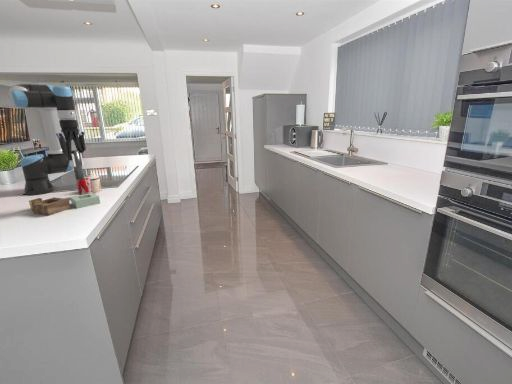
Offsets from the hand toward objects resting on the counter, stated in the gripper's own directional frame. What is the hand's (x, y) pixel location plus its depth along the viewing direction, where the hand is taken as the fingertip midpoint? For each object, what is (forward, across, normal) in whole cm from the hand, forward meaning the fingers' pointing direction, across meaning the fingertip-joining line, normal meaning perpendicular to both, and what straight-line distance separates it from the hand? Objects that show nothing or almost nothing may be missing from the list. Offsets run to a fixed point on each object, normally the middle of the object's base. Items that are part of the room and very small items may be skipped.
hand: (77, 165), depth 142 cm
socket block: (+21, -13, +6) cm, 26 cm away
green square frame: (+21, 0, 0) cm, 21 cm away
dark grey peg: (+7, 0, 0) cm, 7 cm away
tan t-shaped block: (+20, -13, +14) cm, 28 cm away
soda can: (+21, +10, +11) cm, 26 cm away
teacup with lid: (+21, +21, +19) cm, 36 cm away
